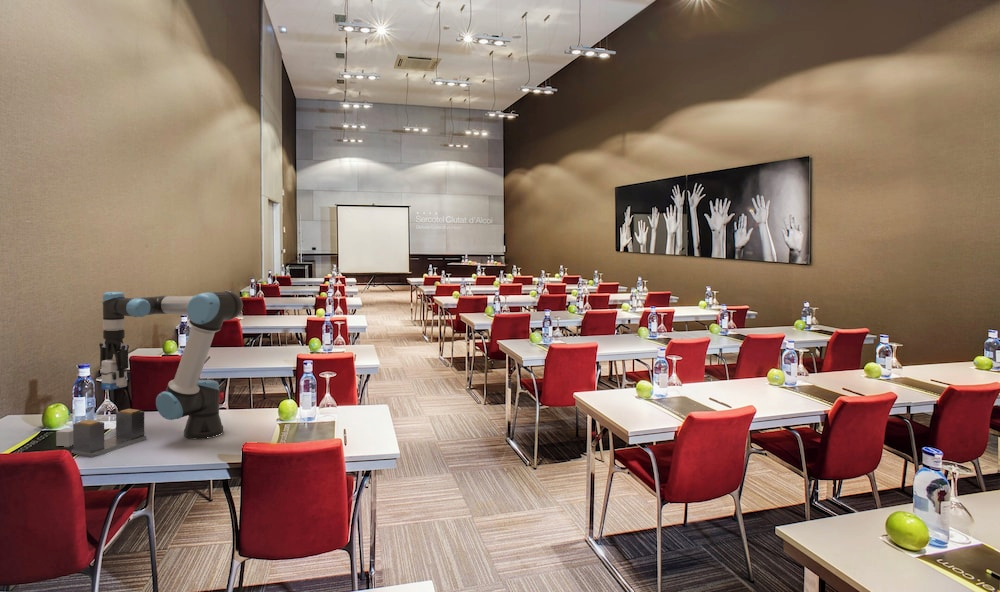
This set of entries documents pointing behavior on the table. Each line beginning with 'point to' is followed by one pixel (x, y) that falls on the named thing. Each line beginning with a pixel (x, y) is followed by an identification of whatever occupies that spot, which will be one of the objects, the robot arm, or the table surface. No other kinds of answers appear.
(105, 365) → the ink box
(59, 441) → the block
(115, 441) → the grey block holder
